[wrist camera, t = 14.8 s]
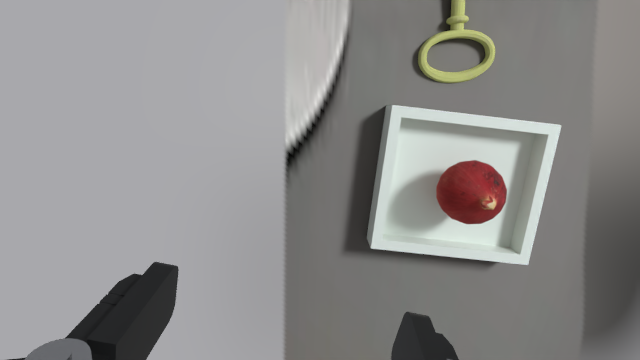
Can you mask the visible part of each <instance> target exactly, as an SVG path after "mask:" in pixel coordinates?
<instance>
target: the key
mask: <svg viewBox="0 0 640 360" xmlns="http://www.w3.org/2000/svg"><path fill="white" fill-rule="evenodd" d="M464 12H465V0H451V17H450V18H448V19H447V21H446V22H447V24H450V31H445V32H441V33H438V34H436V35H434V36H432V37H431V38H429V39H428V40H427V41H426V42H425V43H424V44H423V45H422V47H421V48H420V51H419V54H418V64H419V67H420V69H421V70H422V72H423V73H424V74H425V75H426V76H427V77H429V78H431V79H433V80H435V81H438V82H442V83H458V82H464V81H468V80H471V79H473V78H475V77H477V76H479V75H480V74H482V73H483V72H484V71H486V70H487V69H488V68H489V67H490V65H491V64H492V62H493V60H494V57H495V47H494V44H493V42H492V40H491V39H490V38H489V37H488V36H486V35H485V34H483V33H481V32H477V31H473V30H464V23H466V22H467V21H468V19H469V18H468V17H467V16H464ZM455 38H466V39H472V40H475V41H477V42H479V43H481V44H482V45H483V47H484V49H485V58H484V60H483V61H482V62H481V63H480V64H479V65H477V66H475V67H473V68H471V69H469V70H465V71H462V72H443V71H439V70H436V69H434V68H432V67H430V66H429V65H428V63H427V60H426V57H427V52H428V50H429V48H430V47H431V46H433V45H435V44H436V43H438V42H441V41H443V40H448V39H455Z"/></svg>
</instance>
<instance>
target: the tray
mask: <svg viewBox="0 0 640 360" xmlns="http://www.w3.org/2000/svg"><path fill="white" fill-rule="evenodd" d="M560 129H561V125H556V124H547V123H539V122H531V121H522V120H514V119H506V118H497V117H489V116H481V115H472V114H464V113H456V112H447V111H439V110H430V109H422V108H414V107H405V106H397V105H387V106H386V109H385V116H384V122H383V129H382V136H381V143H380V150H379V156H378V163H377V170H376V177H375V184H374V190H373V197H372V204H371V211H370V217H369V224H368V231H367V240H368V243H369V245H370V248H371V249H381V250H390V251H400V252H409V253H419V254H428V255H438V256H447V257H457V258H466V259H476V260H485V261H495V262H504V263H514V264H523V265H528V263H529V259H530V254H531V250H532V246H533V242H534V238H535V234H536V229H537V225H538V221H539V217H540V213H541V209H542V204H543V200H544V196H545V192H546V188H547V184H548V179H549V175H550V171H551V167H552V163H553V159H554V154H555V150H556V146H557V142H558V138H559V134H560ZM471 160H477V161H480V162H483V163H486V164H489V165H491V166H492V167H493V168H494V169H495V170H496V171H497V172H498V173H499V174H500V175H501V176H502V178H503V180H504V183H505V185H506V188H507V196H506V203H505V205H504V207H503V208H502V210H501V212H500V213H499V214H498V215H497V216H495V217H494V218H493V219H491V220H489V221H486V222H484V223H482V224H464V223H462V222H459V221H456V220H454V219H451V218H450V217H449V216H448V215H447V214H446V213H445V212H444V211H443V210H442V209H441V207H440V205H439V203H438V201H437V199H436V187H437V184H438V182H439V179H440V176H441V175H442V174H443V173H444V172H445V171H446V170H447V169H448V168H449V167H451V166H453V165H455V164H457V163H459V162H463V161H471Z"/></svg>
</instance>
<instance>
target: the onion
mask: <svg viewBox="0 0 640 360" xmlns="http://www.w3.org/2000/svg"><path fill="white" fill-rule="evenodd" d="M506 196H507V188H506V185H505V183H504V180H503V178H502V176H501V175H500V174H499V173H498V172H497V171H496V170H495V169H494V168H493V167H492V166H491V165H489V164H486V163H483V162H480V161H477V160H471V161H463V162H459V163H457V164H455V165H453V166H451V167H449V168H448V169H447V170H446V171H445V172H444V173H443V174H442V175H441V176H440V179H439V182H438V184H437V187H436V199H437V201H438V203H439V205H440V207H441V209H442V210H443V211H444V212H445V213H446V214H447V215H448V216H449V217H450V218H451V219H454V220H456V221H459V222H462V223H464V224H482V223H484V222H486V221H489V220H491V219H493V218H494V217H495V216H497V215H498V214H499V213H500V212H501V210H502V208H503V207H504V205H505V203H506Z"/></svg>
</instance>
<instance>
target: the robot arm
mask: <svg viewBox="0 0 640 360" xmlns="http://www.w3.org/2000/svg"><path fill="white" fill-rule="evenodd" d="M177 278H178V267H177V266H174V265H169V264H164V263H159V262H154V263H153V264H152V265H151V266H150V267H149V268H148V269H147V271H146V272H145V273H144V274H143V275H138V274H132V275H130V276H129V277H127V278H125V279H123V280H121V281H119V282H118V283H117V284H116V285H115V286H114V287H113V288H112V290H111V291H110V292H109V293H108V295H106V296H105V297H104V298H103V299H102V300H101V301H100V303H99V304H97V305H96V306H95V307H94V308H93V309H92V310H91V312H90V313H89V314H88V315H87V316H86V317H85V318H84V319H83V320H82V321H81V322H80V323H79V324H78V325H77V326H76V327H75V328H74V329H73V330H72V332H71V333H70V334H69V335H68V336H67V337H66V338H65V339H59V340H55V341H51V342H49V343H46V344H44V345H42V346H40V347H38V348H37V349H35V350H34V351H33V352H31V353H30V354H29V355H28V356H27V357H26V358H20V359H9V360H146V359H147V357H148V355H149V354H150V352H151V350H152V349H153V347H154V345H155V344H156V342H157V340H158V339H159V337H160V335H161V334H162V332H163V331H164V329H165V327H166V326H167V324H168V322H169V321H170V318H171V316H172V313H173V310H174V306H175V300H176V290H177ZM391 360H459V359H458V357H457V355H456V353H455V350H454V348H453V346H452V345H451V344H450V343H449V342H448V340H447V339H446V338H445V337H444V336H443V335H442V334H439V333H436V332H435V330H434V327H433V325H432V322H431V320H430V318H429V316H426V315H421V314H416V313H411V312H406V313H405V314H404V316H403V319H402V322H401V325H400V328H399V330H398V333H397V336H396V339H395V342H394V344H393V348H392V356H391Z"/></svg>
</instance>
